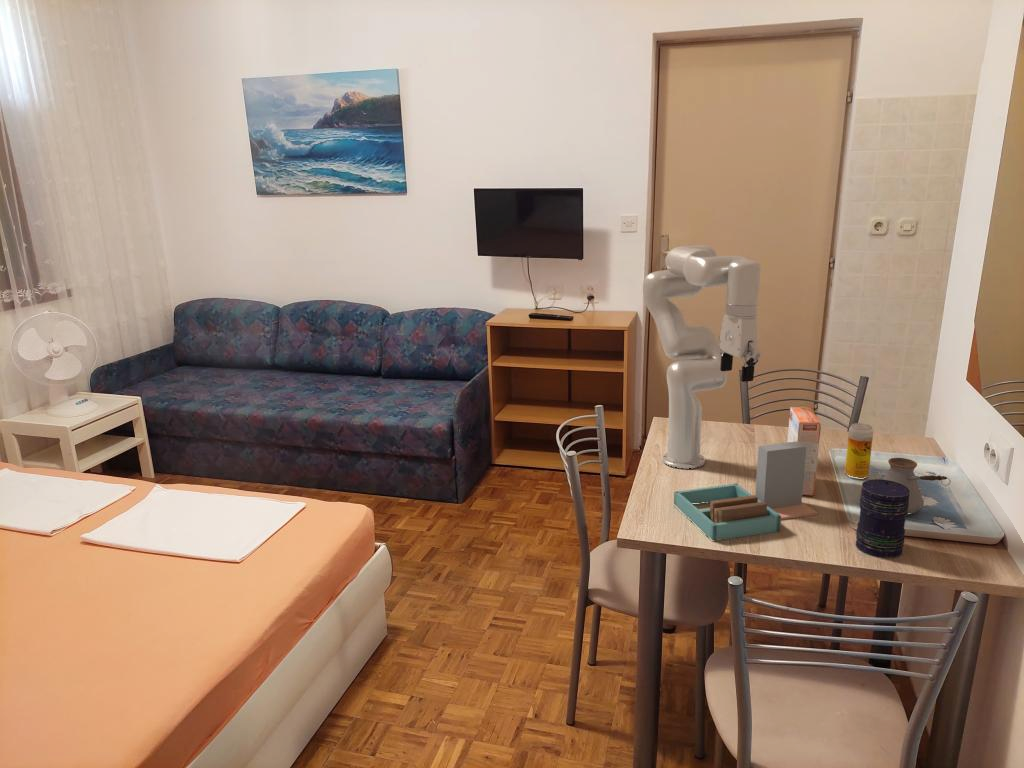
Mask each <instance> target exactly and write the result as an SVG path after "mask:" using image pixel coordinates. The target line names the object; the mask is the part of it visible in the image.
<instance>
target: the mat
mask: <svg viewBox="0 0 1024 768" xmlns="http://www.w3.org/2000/svg"><path fill="white" fill-rule="evenodd" d="M772 510H774V511H775V512H776V513H778V514H779V515H780V516H781V521H782V520H788V519H789V520H790V519H795V518H796V519H797V518H801V517H802V518H803V517H810V516H816V515H818V512H817V511H816V510H814V509H813V508H811V507H810V506H809V505H807V504H805V503H804V502H803V501H802V504H801V505H795V506H788V507H781V508H774V509H772Z"/></svg>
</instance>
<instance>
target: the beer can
mask: <svg viewBox="0 0 1024 768" xmlns="http://www.w3.org/2000/svg"><path fill="white" fill-rule="evenodd" d="M873 436H874V430H873V426H872V425H870V424H867V423H862V422H861V423H860V422H858V423H857V422H854V423H852V424H851V425H850V427H849V428H848V438H847V446H846V447H847V448H846V458H845V470H844V474H845V475H846V474H848V475H850V476H853V477H858V478H864V477H866V478H868V477H869V474H870V465H871V455H872V447H873V446H872V445H873Z"/></svg>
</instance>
